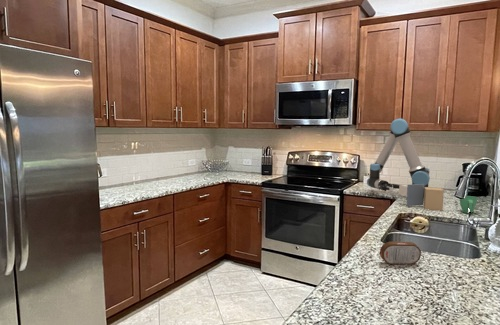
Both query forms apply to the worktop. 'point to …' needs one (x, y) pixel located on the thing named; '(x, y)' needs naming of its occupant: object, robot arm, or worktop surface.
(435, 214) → the worktop surface
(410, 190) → the flap
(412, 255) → the tin
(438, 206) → the carton
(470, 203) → the mug
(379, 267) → the worktop surface
